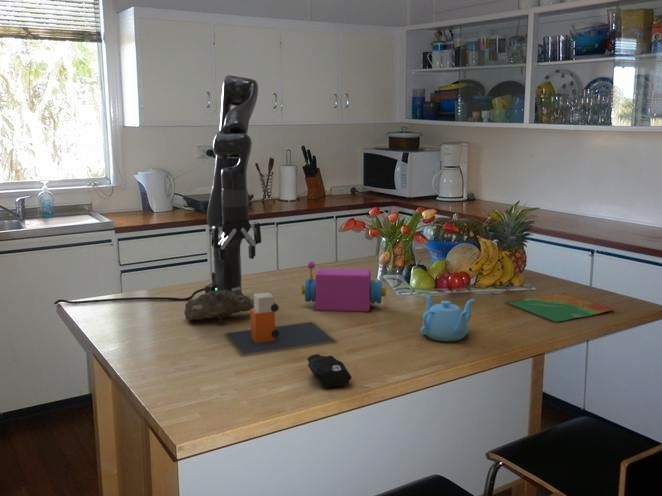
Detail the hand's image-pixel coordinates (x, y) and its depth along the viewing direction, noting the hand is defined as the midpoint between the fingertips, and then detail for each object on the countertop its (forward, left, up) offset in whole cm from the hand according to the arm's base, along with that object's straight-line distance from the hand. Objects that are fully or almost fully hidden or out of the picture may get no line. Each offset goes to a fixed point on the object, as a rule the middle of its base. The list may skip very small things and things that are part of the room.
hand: (237, 260), depth 190 cm
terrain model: (+93, +49, -22) cm, 107 cm away
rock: (+35, -29, -22) cm, 50 cm away
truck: (+10, -6, -21) cm, 24 cm away
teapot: (+60, +12, -22) cm, 65 cm away
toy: (+24, +31, -22) cm, 45 cm away
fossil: (-9, +8, -22) cm, 25 cm away
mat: (+13, -3, -22) cm, 26 cm away
